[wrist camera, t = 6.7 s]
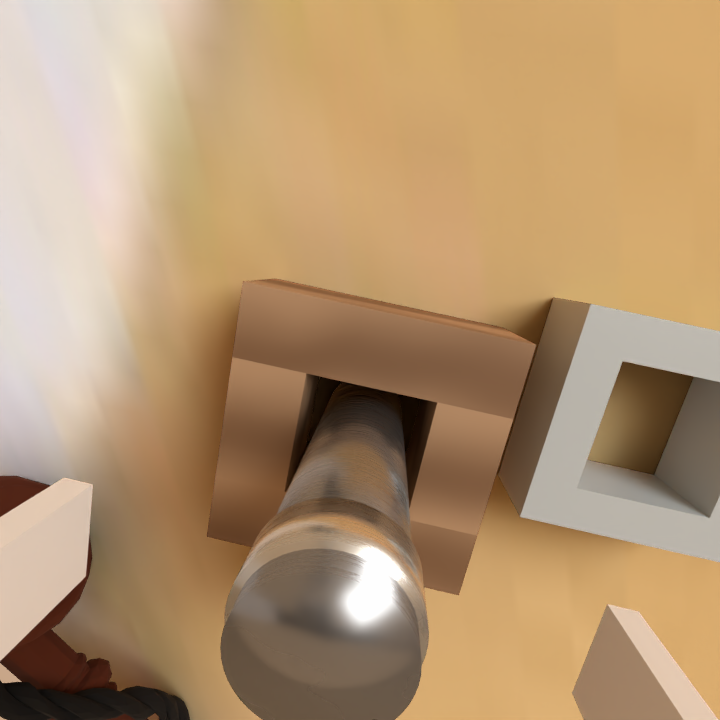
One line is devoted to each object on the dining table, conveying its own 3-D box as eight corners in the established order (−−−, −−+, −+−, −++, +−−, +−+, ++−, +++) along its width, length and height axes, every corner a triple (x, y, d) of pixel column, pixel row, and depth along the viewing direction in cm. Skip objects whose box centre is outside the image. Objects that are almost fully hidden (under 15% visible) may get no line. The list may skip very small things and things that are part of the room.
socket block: (276, 278, 22) (243, 281, 17) (502, 327, 21) (536, 344, 16) (234, 541, 25) (197, 606, 20) (428, 586, 25) (437, 663, 20)
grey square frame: (553, 297, 21) (591, 303, 17) (752, 340, 21) (837, 356, 17) (497, 475, 23) (520, 516, 19) (677, 515, 23) (736, 566, 19)
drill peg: (333, 363, 22) (226, 540, 8) (413, 381, 22) (457, 594, 8) (318, 437, 23) (198, 719, 9) (395, 455, 23) (403, 769, 9)
